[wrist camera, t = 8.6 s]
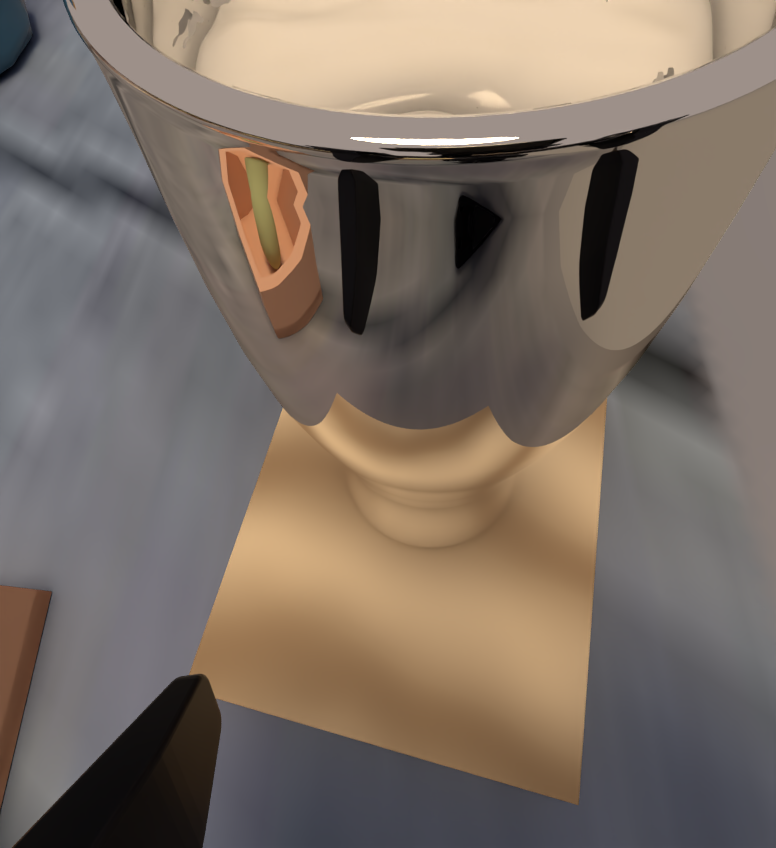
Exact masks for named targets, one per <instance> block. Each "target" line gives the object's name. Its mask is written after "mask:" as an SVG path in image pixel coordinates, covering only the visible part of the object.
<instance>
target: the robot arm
mask: <svg viewBox="0 0 776 848" xmlns="http://www.w3.org/2000/svg"><path fill="white" fill-rule="evenodd" d="M220 733H221V714H220V710H219V707H218V704H217V701H216V699H215V696H214V693H213V690H212V687H211V684H210V682H209V679H208V677H207V676H206V675H204V674H194V675H187V676H181V677H178V678H176V679H175V680H174V681H172V682H171V683H170V684H169V685H168V686H167V687H166V688H165V690H164V691H163V692H162V693H161V694H160V695H159V696H158V697H157V698H156V699H155V700H154V701H153V702H152V703H151V704H150V705H149V706H148V707H147V708H146V709H145V710H144V711H143V712H142V713H141V714H140V715H139V716H138V717H137V719H136V720H135V721H134V722H133V723H132V724H131V725H130V726H129V727H128V728H127V729H126V730H125V731H124V732H123V733H122V734H121V735H120V736H119V737H118V738H117V739H116V740H115V741H114V742H113V743H112V744H111V745H110V746H109V748H108V749H107V750H106V751H105V752H104V753H103V754H102V755H101V756H100V757H99V758H98V759H97V760H96V761H95V762H94V763H93V764H92V765H91V766H90V767H89V768H88V769H87V770H86V771H85V772H84V773H83V774H82V775H81V777H80V778H79V779H78V780H77V781H76V782H75V783H74V784H73V785H72V786H71V787H70V788H69V789H68V790H67V791H66V792H65V793H64V794H63V795H62V796H61V797H60V798H59V799H58V800H57V801H56V802H55V803H54V804H53V806H52V807H51V808H50V809H49V810H48V811H47V812H46V813H45V814H44V815H43V816H42V817H41V818H40V819H39V820H38V821H37V822H36V823H35V824H34V825H33V826H32V827H31V828H30V829H29V830H28V831H27V832H26V833H25V835H24V836H23V837H22V838H21V839H20V840H19V841H18V842H17V843H16V844H15V845H14V846H13V847H12V848H202V847H203V842H204V836H205V830H206V824H207V818H208V811H209V805H210V798H211V792H212V785H213V778H214V772H215V765H216V759H217V752H218V746H219V739H220Z"/></svg>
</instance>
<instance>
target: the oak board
mask: <svg viewBox="0 0 776 848" xmlns="http://www.w3.org/2000/svg"><path fill="white" fill-rule="evenodd" d="M606 404H607V398H606V399H605V400H604V402H603V403H602V404H601V405H600V406H599V407H598V409H597V410H596V411H595V412H594V413H593V414H592V415H591V416H590V417H589V418H588V419H587V420H586V421H585V422H584V423H583V424H582V425H581V426H580V427H579V428H577V429H576V430H575V431H574V432H573V433H571V434H570V435H569V436H568V437H566V438H565V439H564V440H563V441H561V442H560V443H559V444H558V445H556V446H555V447H554V448H553V449H551V450H550V451H549V452H548V453H546V454H545V455H544V456H542V457H541V458H540V459H538V460H537V461H535V462H534V463H532V464H531V465H529V466H527V467H526V468H524V469H523V470H521V471H519V472H518V473H516V475H515V482H514V487H513V491H512V494H511V496H510V499H509V501H508V503H507V505H506V507H505V508H504V510H503V511H502V513H501V514H500V516H499V517H498V518H497V519H496V520H495V521H494V523H493V524H492V525H490V526H489V527H488V528H487V529H486V530H485V531H483V532H482V533H480V534H479V535H477V536H476V537H474V538H472V539H470V540H468V541H465V542H463V543H460V544H457V545H453V546H449V547H443V548H420V547H414V546H409V545H406V544H403V543H400V542H397V541H395V540H393V539H391V538H389V537H387V536H385V535H384V534H382V533H381V532H379V531H378V530H377V529H376V528H375V527H373V526H372V525H371V524H370V523H369V522H368V521H367V520H366V518H365V517H364V516H363V515H362V513H361V512H360V511H359V509H358V508H357V506H356V504H355V503H354V501H353V499H352V496H351V494H350V491H349V488H348V485H347V480H346V474H345V465H343V464H342V463H341V462H340V461H338V460H337V459H336V458H334V457H333V456H332V455H330V454H329V453H328V452H327V451H326V450H324V449H323V448H322V447H321V446H320V445H319V444H318V443H317V442H316V441H315V440H314V439H313V438H312V437H311V436H310V435H309V434H308V433H307V432H306V431H305V430H304V429H303V428H302V427H301V426H300V425H299V424H298V423H297V422H296V421H295V420H294V419H293V418H292V417H291V416H290V415H289V414H288V413H287V412H286V411H285V409H284V408H283V410H282V412H281V415H280V418H279V421H278V424H277V427H276V429H275V432H274V435H273V438H272V441H271V444H270V446H269V449H268V452H267V455H266V458H265V461H264V463H263V466H262V469H261V472H260V475H259V478H258V480H257V483H256V486H255V489H254V492H253V495H252V498H251V500H250V503H249V506H248V509H247V512H246V515H245V517H244V520H243V523H242V526H241V529H240V532H239V534H238V537H237V540H236V543H235V546H234V549H233V551H232V554H231V557H230V560H229V563H228V566H227V568H226V571H225V574H224V577H223V580H222V583H221V585H220V588H219V591H218V594H217V597H216V600H215V603H214V605H213V608H212V611H211V614H210V617H209V620H208V622H207V625H206V628H205V631H204V634H203V637H202V639H201V642H200V645H199V648H198V651H197V654H196V656H195V659H194V662H193V665H192V668H191V671H190V673H189V675H194V674H204V675H206V676H207V677H208V679H209V682H210V684H211V687H212V690H213V693H214V696H215V698H216V699H220V700H223V701H227V702H230V703H233V704H237V705H240V706H244V707H247V708H250V709H254V710H257V711H261V712H264V713H267V714H271V715H274V716H277V717H281V718H284V719H288V720H291V721H294V722H298V723H301V724H305V725H308V726H311V727H315V728H318V729H322V730H325V731H328V732H332V733H335V734H339V735H342V736H345V737H349V738H352V739H356V740H359V741H362V742H366V743H369V744H372V745H376V746H379V747H383V748H386V749H389V750H393V751H396V752H400V753H403V754H406V755H410V756H413V757H417V758H420V759H423V760H427V761H430V762H434V763H437V764H440V765H444V766H447V767H451V768H454V769H457V770H461V771H464V772H467V773H471V774H474V775H478V776H481V777H484V778H488V779H491V780H495V781H498V782H501V783H505V784H508V785H512V786H515V787H518V788H522V789H525V790H529V791H532V792H535V793H539V794H542V795H546V796H549V797H552V798H556V799H559V800H562V801H566V802H569V803H573V804H576V805H579V791H580V777H581V763H582V748H583V734H584V720H585V705H586V691H587V676H588V662H589V648H590V633H591V619H592V605H593V590H594V576H595V562H596V547H597V533H598V518H599V504H600V490H601V475H602V461H603V447H604V432H605V418H606Z"/></svg>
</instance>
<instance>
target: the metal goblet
mask: <svg viewBox="0 0 776 848" xmlns="http://www.w3.org/2000/svg"><path fill="white" fill-rule="evenodd" d="M63 2H64V5H65V8H66V10H67V13H68V15H69V18H70V20H71V22H72V24H73V26H74V28H75V30H76V31H77V33H78V34H79V36H80V37H81V39H82V40H83V42H84V43H85V45H86V46H87V48H88V49H89V50H90V51H91V53H92V54H93V56H94V58H95V59H96V61H97V63H98V65H99V67H100V69H101V71H102V73H103V74H104V76H105V78H106V80H107V82H108V84H109V86H110V88H111V90H112V92H113V94H114V96H115V98H116V100H117V102H118V104H119V107H120V109H121V111H122V113H123V115H124V117H125V119H126V121H127V123H128V125H129V127H130V129H131V131H132V133H133V135H134V137H135V139H136V141H137V143H138V146H139V148H140V150H141V152H142V154H143V156H144V158H145V161H146V163H147V165H148V167H149V169H150V171H151V173H152V176H153V178H154V180H155V182H156V184H157V186H158V188H159V191H160V193H161V195H162V197H163V199H164V201H165V203H166V206H167V208H168V210H169V212H170V214H171V216H172V218H173V220H174V222H175V224H176V226H177V228H178V230H179V232H180V234H181V236H182V238H183V240H184V242H185V244H186V246H187V248H188V250H189V252H190V254H191V256H192V258H193V260H194V262H195V265H196V267H197V269H198V271H199V273H200V275H201V277H202V279H203V281H204V283H205V285H206V286H207V288H208V290H209V292H210V294H211V296H212V297H213V299H214V301H215V303H216V305H217V306H218V308H219V310H220V312H221V313H222V315H223V317H224V319H225V320H226V322H227V324H228V326H229V327H230V329H231V331H232V333H233V335H234V336H235V338H236V340H237V342H238V343H239V345H240V347H241V349H242V350H243V352H244V353H245V355H246V357H247V358H248V359H249V361H250V362H251V364H252V365H253V367H254V368H255V369H256V371H257V372H258V374H259V375H260V377H261V378H262V379H263V381H264V382H265V384H266V385H267V386H268V388H269V389H270V391H271V392H272V394H273V395H274V396H275V398H276V399H277V401H278V402H279V403H280V405H281V406H282V407H283V408H284V409H285V411H286V412H287V413H288V414H289V415H290V416H291V417H292V418H293V419H294V420H295V421H296V422H297V423H298V424H299V425H300V426H301V427H302V428H303V429H304V430H305V431H306V432H307V433H308V434H309V435H310V436H311V437H312V438H313V439H314V440H315V441H316V442H317V443H318V444H319V445H320V446H321V447H322V448H323V449H324V450H326V451H327V452H328V453H329V454H330V455H332V456H333V457H334V458H336V459H337V460H338V461H340V462H341V463H342V464H343V465H345V474H346V480H347V485H348V488H349V491H350V494H351V496H352V499H353V501H354V503H355V504H356V506H357V508H358V509H359V511H360V512H361V513H362V515H363V516H364V517H365V518H366V520H367V521H368V522H369V523H370V524H371V525H372V526H373V527H375V528H376V529H377V530H378V531H379V532H381V533H382V534H384V535H385V536H387V537H389V538H391V539H393V540H395V541H397V542H400V543H403V544H406V545H409V546H414V547H420V548H443V547H449V546H453V545H457V544H460V543H463V542H465V541H468V540H470V539H472V538H474V537H476V536H477V535H479V534H480V533H482V532H483V531H485V530H486V529H487V528H488V527H489V526H490V525H492V524H493V523H494V521H495V520H496V519H497V518H498V517H499V516H500V514H501V513H502V511H503V510H504V508H505V507H506V505H507V503H508V501H509V499H510V496H511V494H512V491H513V487H514V482H515V475H516V473H518V472H519V471H521V470H523V469H524V468H526V467H527V466H529V465H531V464H532V463H534V462H535V461H537V460H538V459H540V458H541V457H542V456H544V455H545V454H546V453H548V452H549V451H550V450H551V449H553V448H554V447H555V446H556V445H558V444H559V443H560V442H561V441H563V440H564V439H565V438H566V437H568V436H569V435H570V434H571V433H573V432H574V431H575V430H576V429H577V428H579V427H580V426H581V425H582V424H583V423H584V422H585V421H586V420H587V419H588V418H589V417H590V416H591V415H592V414H593V413H594V412H595V411H596V410H597V409H598V407H599V406H600V405H601V404H602V403H603V402H604V400H605V399H606V398H607V397H608V396H609V395H610V394H611V392H612V391H613V390H614V389H615V388H616V387H617V386H618V384H619V383H620V382H621V381H622V380H623V379H624V378H625V376H626V375H627V374H628V373H629V372H630V371H631V370H632V368H633V367H634V366H635V365H636V364H637V362H638V361H639V360H640V358H641V357H642V356H643V354H644V353H645V351H646V350H647V348H648V347H649V346H650V344H651V343H652V341H653V340H654V339H655V337H656V336H657V334H658V333H659V332H660V330H661V329H662V327H663V326H664V325H665V323H666V322H667V320H668V319H669V318H670V316H671V315H672V313H673V312H674V310H675V309H676V308H677V306H678V305H679V303H680V302H681V301H682V299H683V298H684V296H685V295H686V293H687V292H688V290H689V289H690V287H691V285H692V284H693V282H694V281H695V279H696V278H697V276H698V274H699V273H700V271H701V270H702V268H703V266H704V265H705V263H706V262H707V260H708V259H709V257H710V255H711V254H712V252H713V251H714V249H715V247H716V246H717V244H718V243H719V241H720V239H721V238H722V236H723V235H724V233H725V232H726V230H727V228H728V227H729V225H730V224H731V222H732V220H733V219H734V217H735V216H736V214H737V212H738V211H739V209H740V207H741V206H742V204H743V202H744V200H745V199H746V197H747V196H748V194H749V192H750V191H751V189H752V187H753V186H754V184H755V182H756V181H757V179H758V177H759V176H760V174H761V172H762V171H763V169H764V167H765V166H766V164H767V162H768V161H769V159H770V157H771V155H772V154H773V152H774V150H775V149H776V0H63Z"/></svg>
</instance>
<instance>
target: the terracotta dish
mask: <svg viewBox="0 0 776 848" xmlns="http://www.w3.org/2000/svg"><path fill="white" fill-rule="evenodd" d="M51 593H52V592H51V591H43V590H35V589H27V588H19V587H10V586H2V585H0V808H1V804H2V800H3V796H4V792H5V787H6V783H7V779H8V775H9V770H10V766H11V762H12V758H13V753H14V749H15V745H16V741H17V737H18V732H19V728H20V724H21V720H22V715H23V711H24V707H25V703H26V699H27V694H28V690H29V686H30V682H31V677H32V673H33V669H34V665H35V660H36V656H37V652H38V648H39V644H40V639H41V635H42V631H43V627H44V622H45V618H46V614H47V610H48V605H49V601H50V597H51Z"/></svg>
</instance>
